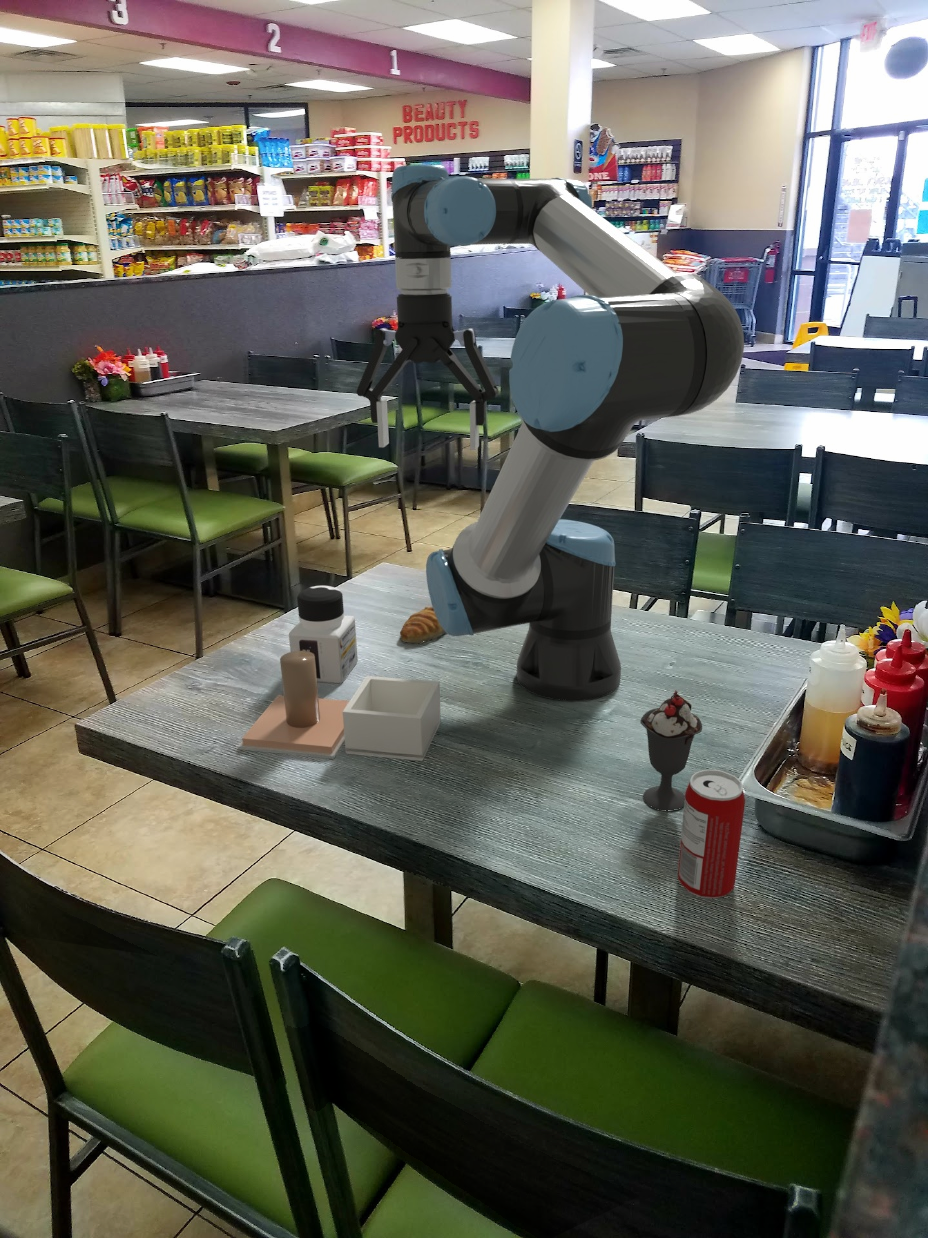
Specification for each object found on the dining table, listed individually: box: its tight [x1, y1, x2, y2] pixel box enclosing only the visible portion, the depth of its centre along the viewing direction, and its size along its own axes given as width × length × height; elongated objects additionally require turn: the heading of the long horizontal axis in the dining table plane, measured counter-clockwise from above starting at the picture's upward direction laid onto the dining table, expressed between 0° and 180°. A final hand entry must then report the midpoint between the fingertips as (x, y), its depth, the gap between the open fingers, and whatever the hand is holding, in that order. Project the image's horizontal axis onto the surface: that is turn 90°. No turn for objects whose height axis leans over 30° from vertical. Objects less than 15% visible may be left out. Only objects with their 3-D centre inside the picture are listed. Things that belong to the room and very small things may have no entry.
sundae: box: [639, 690, 703, 812], centre depth 101 cm, size 7×7×15 cm
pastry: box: [399, 605, 447, 645], centre depth 147 cm, size 9×7×4 cm
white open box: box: [343, 675, 442, 762], centre depth 116 cm, size 10×10×6 cm
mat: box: [236, 736, 345, 760], centre depth 120 cm, size 13×13×1 cm
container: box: [288, 585, 359, 684], centre depth 133 cm, size 8×8×13 cm
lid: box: [241, 651, 350, 754], centre depth 118 cm, size 12×12×10 cm
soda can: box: [677, 769, 746, 900], centre depth 88 cm, size 6×6×12 cm
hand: (428, 446), depth 131 cm, fingers open, 13 cm apart
